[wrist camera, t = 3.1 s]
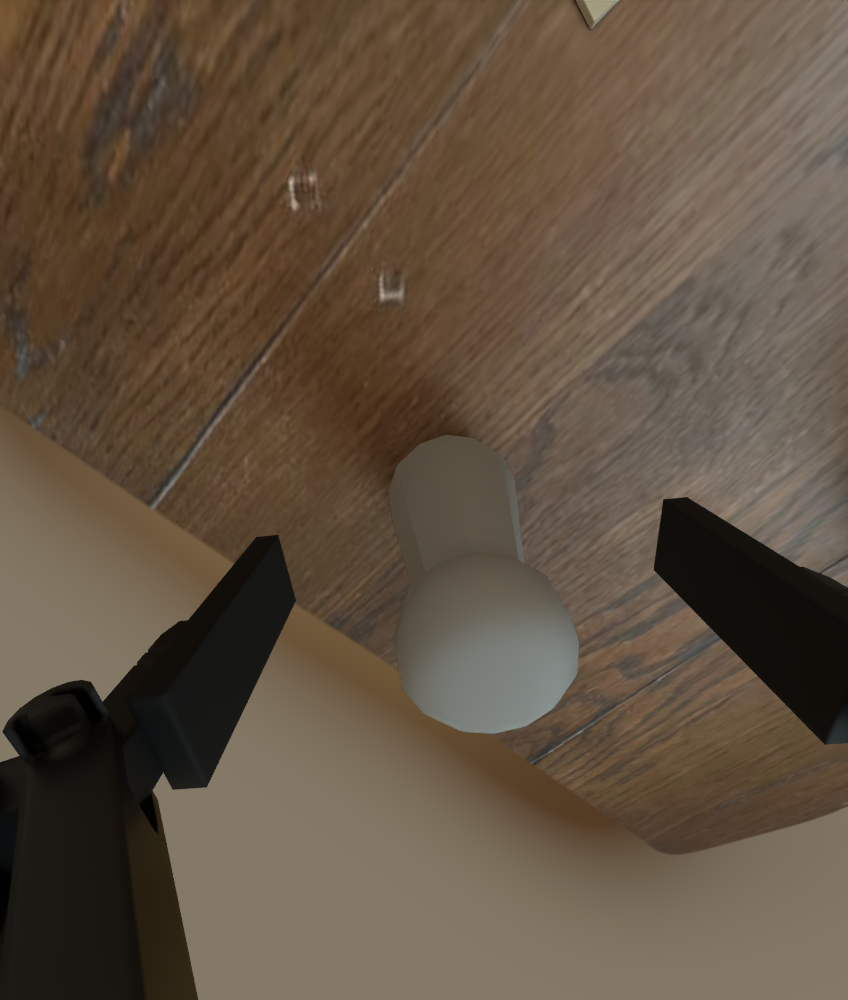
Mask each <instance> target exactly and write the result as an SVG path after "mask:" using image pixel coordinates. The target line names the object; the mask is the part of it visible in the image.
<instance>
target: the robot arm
mask: <svg viewBox="0 0 848 1000" xmlns="http://www.w3.org/2000/svg"><path fill="white" fill-rule="evenodd" d="M654 571H655V572H656V573H657V574H658V575H659V576H660V577H661V578H662V579H663V580H664V581H665V582H666V583H667V584H668V585H669V586H670V587H671V588H672V589H673V590H674V591H675V592H676V593H677V594H678V595H679V596H680V597H681V598H682V599H683V600H684V601H685V602H686V603H687V604H688V605H689V606H690V607H691V608H692V609H693V610H694V611H695V612H696V613H697V614H698V615H699V616H700V617H701V619H702V620H703V621H704V622H705V623H706V624H707V625H708V626H709V627H710V628H711V629H712V630H713V631H714V632H715V633H716V634H717V635H718V636H719V637H720V638H721V639H722V640H723V641H724V642H725V643H726V644H727V645H728V646H729V647H730V648H731V649H732V650H733V651H734V652H735V653H736V654H737V655H738V656H739V657H740V658H741V659H742V660H743V661H744V662H745V663H746V664H747V665H748V667H749V668H750V669H751V670H752V671H753V672H754V673H755V674H756V675H757V676H758V677H759V678H760V679H761V680H762V681H763V682H764V683H765V684H766V685H767V686H768V687H769V688H770V689H771V690H772V691H773V692H774V693H775V694H776V695H777V696H778V697H779V698H780V699H781V700H782V701H783V702H784V703H785V704H786V705H787V706H788V707H789V708H790V709H791V710H792V711H793V712H794V713H795V715H796V716H797V717H798V718H799V719H800V720H801V721H802V722H803V723H804V724H805V725H806V726H807V727H808V728H809V729H810V730H811V731H812V732H813V733H814V734H815V735H816V736H817V737H818V738H819V739H820V740H821V741H822V742H823V743H824V744H839V743H848V588H847V587H845V586H843V585H842V584H840V583H838V582H837V581H835V580H833V579H832V578H830V577H828V576H825V575H823V574H820V573H817V572H815V571H812V570H810V569H807V568H805V567H799V566H797V565H796V564H794V563H792V562H791V561H789V560H788V559H786V558H784V557H783V556H781V555H779V554H778V553H776V552H775V551H773V550H771V549H770V548H768V547H767V546H765V545H763V544H762V543H760V542H758V541H757V540H755V539H754V538H752V537H750V536H749V535H747V534H746V533H744V532H742V531H741V530H739V529H737V528H736V527H734V526H733V525H731V524H729V523H728V522H726V521H724V520H723V519H721V518H720V517H718V516H716V515H715V514H713V513H712V512H710V511H708V510H707V509H705V508H703V507H702V506H700V505H699V504H697V503H695V502H694V501H692V500H691V499H689V498H687V497H684V498H673V499H663V507H662V514H661V521H660V528H659V535H658V542H657V550H656V557H655V564H654ZM295 601H296V599H295V595H294V592H293V588H292V584H291V581H290V577H289V573H288V569H287V566H286V562H285V558H284V555H283V551H282V547H281V544H280V540H279V536H278V535H273V536H263V537H256V538H255V539H254V541H253V542H252V543H251V544H250V546H249V547H248V548H247V549H246V550H245V552H244V553H243V554H242V555H241V557H240V558H239V559H238V560H237V561H236V563H235V564H234V565H233V566H232V568H231V569H230V570H229V571H228V572H227V574H226V575H225V576H224V577H223V578H222V580H221V581H220V582H219V583H218V584H217V586H216V587H215V588H214V590H213V591H212V592H211V593H210V594H209V595H208V597H207V598H206V599H205V600H204V602H203V603H202V604H201V605H200V607H199V608H198V609H197V610H196V611H195V613H194V614H193V615H192V616H191V617H190V619H189V620H188V621H179V622H178V623H177V624H175V625H174V626H172V627H171V628H170V629H168V630H167V631H166V632H164V633H163V634H162V635H161V636H160V637H159V638H158V639H157V640H156V641H155V642H154V644H153V645H152V646H151V647H150V648H149V649H148V653H145V654H144V655H143V656H142V657H141V659H140V660H139V661H138V662H137V665H136V666H134V667H133V668H132V669H131V670H130V671H129V672H128V673H127V675H126V676H125V677H124V678H123V679H122V680H121V682H120V683H119V684H118V685H117V686H116V687H115V688H114V690H113V691H112V692H111V693H110V694H109V695H108V696H107V698H106V699H105V700H104V701H103V702H102V700H101V699H100V697H99V695H98V693H97V692H96V690H95V688H94V686H93V685H92V683H91V682H88V681H84V680H79V681H73V682H67V683H65V684H62V685H59V686H56V687H54V688H52V689H50V690H48V691H46V692H44V693H42V694H40V695H38V696H37V697H35V698H33V699H32V700H31V701H29V702H28V703H27V704H25V705H24V706H23V707H21V708H20V709H19V710H18V711H17V712H16V713H15V714H14V715H13V716H12V717H11V718H10V719H9V720H8V722H7V724H6V726H5V728H4V730H3V733H4V735H5V736H6V737H7V739H8V740H9V741H10V743H11V744H12V746H13V747H14V748H15V750H16V751H17V753H18V754H19V755H20V756H18V757H15V758H12V759H9V760H6V761H3V762H0V1000H198V997H197V992H196V987H195V982H194V977H193V972H192V967H191V962H190V957H189V952H188V947H187V942H186V937H185V932H184V928H183V922H182V917H181V913H180V908H179V903H178V898H177V893H176V888H175V883H174V878H173V873H172V868H171V863H170V859H169V854H168V849H167V843H166V839H165V834H164V829H163V824H162V819H161V814H160V809H159V804H158V800H157V798H156V796H155V794H154V793H153V791H152V790H153V788H154V787H155V785H156V783H157V782H158V780H159V778H160V777H161V775H162V773H163V772H164V774H165V776H166V778H167V780H168V782H169V784H170V785H171V787H172V789H173V790H174V789H188V788H202V787H207V785H208V783H209V781H210V779H211V777H212V775H213V773H214V771H215V769H216V766H217V764H218V763H219V760H220V758H221V756H222V754H223V752H224V750H225V748H226V746H227V744H228V742H229V739H230V737H231V735H232V733H233V731H234V729H235V727H236V725H237V723H238V721H239V719H240V716H241V714H242V712H243V710H244V708H245V706H246V704H247V702H248V700H249V697H250V695H251V693H252V691H253V689H254V687H255V685H256V683H257V681H258V679H259V677H260V674H261V673H262V670H263V668H264V666H265V664H266V662H267V660H268V658H269V656H270V654H271V652H272V650H273V647H274V645H275V643H276V641H277V639H278V637H279V635H280V633H281V631H282V629H283V626H284V624H285V622H286V620H287V618H288V616H289V614H290V612H291V610H292V608H293V606H294V604H295Z"/></svg>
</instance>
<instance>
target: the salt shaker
mask: <svg viewBox="0 0 848 1000" xmlns="http://www.w3.org/2000/svg"><path fill="white" fill-rule="evenodd" d="M388 494H389V502H390V510H391V518H392V521H393V525H394V528H395V532H396V535H397V539H398V542H399V546H400V549H401V552H402V556H403V559H404V563H405V566H406V570H407V573H408V577H409V580H410V584H411V588H410V589H409V591H408V593H407V596H406V599H405V601H404V604H403V606H402V609H401V611H400V614H399V616H398V619H397V623H396V629H395V635H394V642H395V648H396V655H397V661H398V667H399V674H400V680H401V686H402V690H403V691H404V692H405V693H406V694H407V695H408V697H409V698H410V699H411V700H412V701H413V702H414V703H415V704H416V706H417V707H418V708H419V709H420V710H421V711H422V712H423V713H424V714H426V715H428V716H430V717H432V718H434V719H436V720H438V721H440V722H442V723H444V724H447V725H449V726H451V727H453V728H456V729H457V730H460V731H463V732H477V733H493V734H495V733H499V732H503V731H508V730H512V729H516V728H520V727H525V726H527V725H529V724H530V723H532V722H533V721H535V720H536V719H538V718H540V717H541V716H543V715H544V714H546V713H547V712H549V711H550V710H552V709H553V708H554V707H555V705H556V704H557V703H558V702H559V700H560V699H561V697H562V696H563V694H564V693H565V691H566V690H567V688H568V687H569V685H570V684H571V683H572V681H573V680H574V678H575V677H576V675H577V672H578V648H579V642H578V638H577V634H576V630H575V627H574V623H573V620H572V618H571V617H570V615H569V613H568V611H567V610H566V608H565V606H564V604H563V603H562V601H561V599H560V597H559V596H558V594H557V592H556V590H555V589H554V587H553V586H552V584H551V582H550V581H549V579H548V578H547V576H545V575H544V574H542V573H541V572H539V571H537V570H536V569H534V568H532V567H530V566H528V565H527V564H525V563H524V557H523V551H522V542H521V534H520V525H519V516H518V507H517V498H516V489H515V480H514V477H513V476H512V474H511V472H510V470H509V468H508V467H507V465H506V463H505V461H504V459H503V458H502V456H501V455H500V454H499V453H497V452H496V451H494V450H493V449H491V448H489V447H488V446H486V445H485V444H483V443H482V442H480V441H479V440H477V439H475V438H471V437H463V436H454V435H443V436H440V437H438V438H435V439H432V440H429V441H426V442H423V443H420V444H419V445H418V446H416V447H415V448H414V449H413V450H412V451H411V452H410V453H409V454H408V455H407V456H406V457H405V458H404V459H403V460H402V461H401V462H400V463H399V464H398V465H397V466H396V470H395V473H394V476H393V479H392V482H391V485H390V488H389V491H388Z"/></svg>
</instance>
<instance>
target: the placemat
mask: <svg viewBox="0 0 848 1000" xmlns="http://www.w3.org/2000/svg"><path fill="white" fill-rule="evenodd" d="M618 1H619V0H576V2H577V4H578V6H579V8H580V10H581V12H582V14H583V16H584V18H585V20H586V22H587V24H588V26H589V28H590V29H592V28H593V27H594V26H595V25H596V24H597V23H598V22H599V21H600V20H601V19H602V18H603V17H604V15H605V14H606V13H607V12H608V11H609V10H610V9H611V8H612V7H613V6H614V5H615V4H616V3H617V2H618Z"/></svg>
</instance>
